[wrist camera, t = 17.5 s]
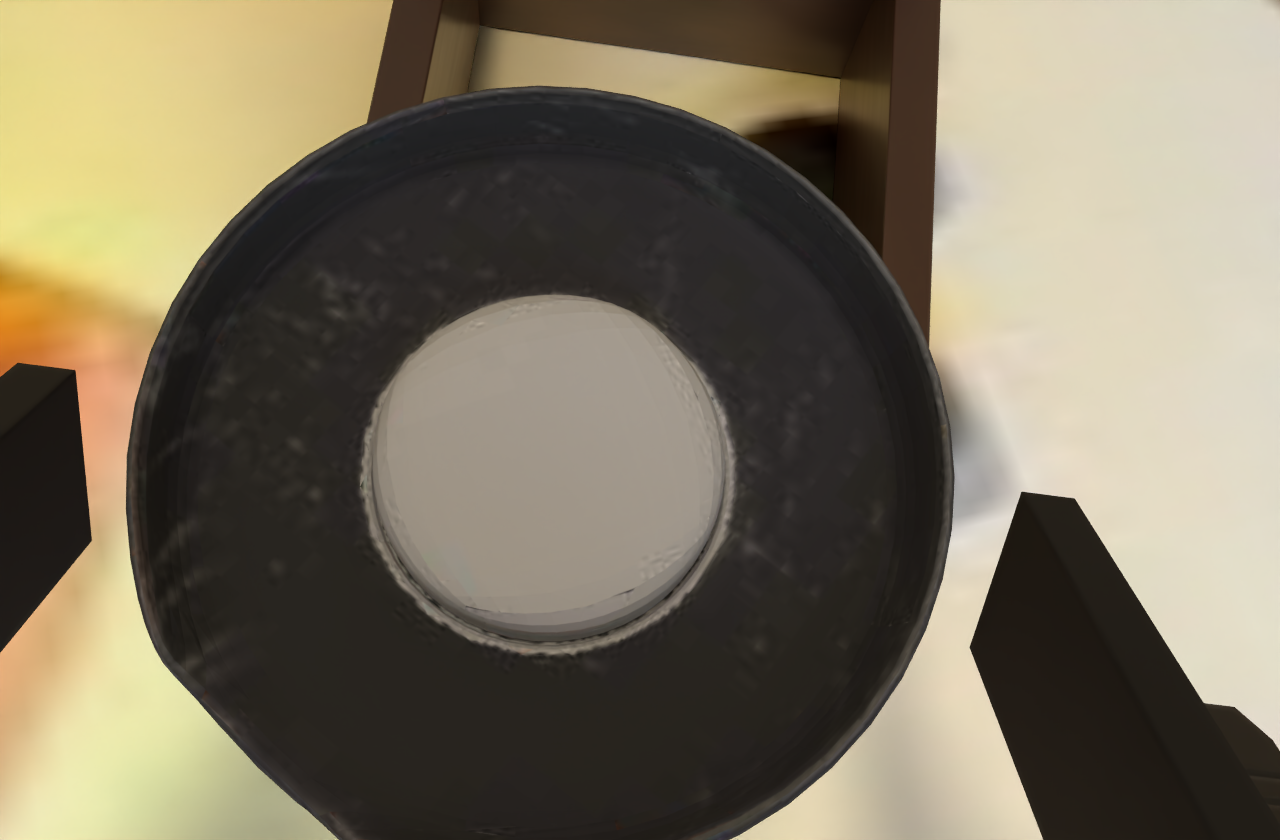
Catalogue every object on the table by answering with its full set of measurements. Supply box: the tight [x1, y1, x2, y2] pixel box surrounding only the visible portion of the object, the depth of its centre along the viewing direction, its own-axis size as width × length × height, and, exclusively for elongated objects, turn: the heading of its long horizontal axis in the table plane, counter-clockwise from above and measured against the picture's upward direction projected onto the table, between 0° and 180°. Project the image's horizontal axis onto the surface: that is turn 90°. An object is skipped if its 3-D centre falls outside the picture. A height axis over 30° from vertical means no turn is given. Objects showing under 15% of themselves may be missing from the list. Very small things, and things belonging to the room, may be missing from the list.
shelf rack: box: [367, 0, 941, 347], centre depth 27 cm, size 14×13×13 cm
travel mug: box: [126, 86, 954, 840], centre depth 20 cm, size 8×8×20 cm
